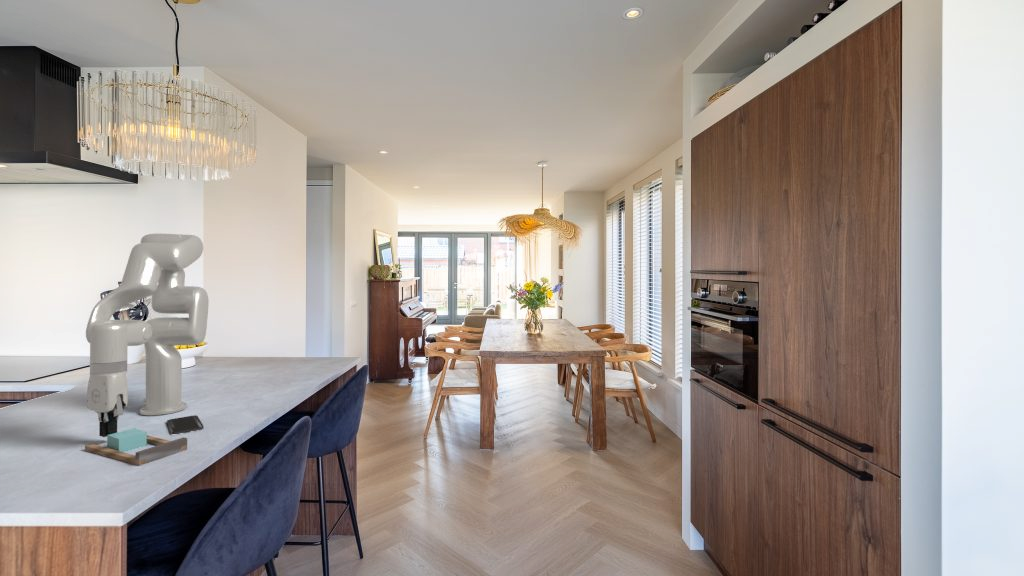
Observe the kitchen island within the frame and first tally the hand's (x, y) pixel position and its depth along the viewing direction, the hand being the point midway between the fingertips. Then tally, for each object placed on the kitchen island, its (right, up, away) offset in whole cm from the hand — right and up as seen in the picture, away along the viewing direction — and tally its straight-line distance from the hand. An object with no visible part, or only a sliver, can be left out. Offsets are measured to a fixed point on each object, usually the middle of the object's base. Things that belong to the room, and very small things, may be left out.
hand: (108, 435), depth 119 cm
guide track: (+11, -3, -4) cm, 12 cm away
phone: (+10, -3, +15) cm, 18 cm away
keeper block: (+7, -3, -2) cm, 8 cm away
